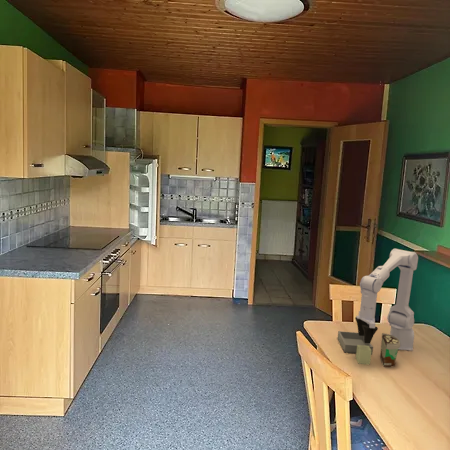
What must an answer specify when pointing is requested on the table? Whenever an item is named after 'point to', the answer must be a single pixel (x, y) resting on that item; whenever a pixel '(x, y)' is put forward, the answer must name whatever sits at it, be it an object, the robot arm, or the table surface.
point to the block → (363, 354)
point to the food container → (389, 350)
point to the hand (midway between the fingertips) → (364, 339)
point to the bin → (351, 341)
